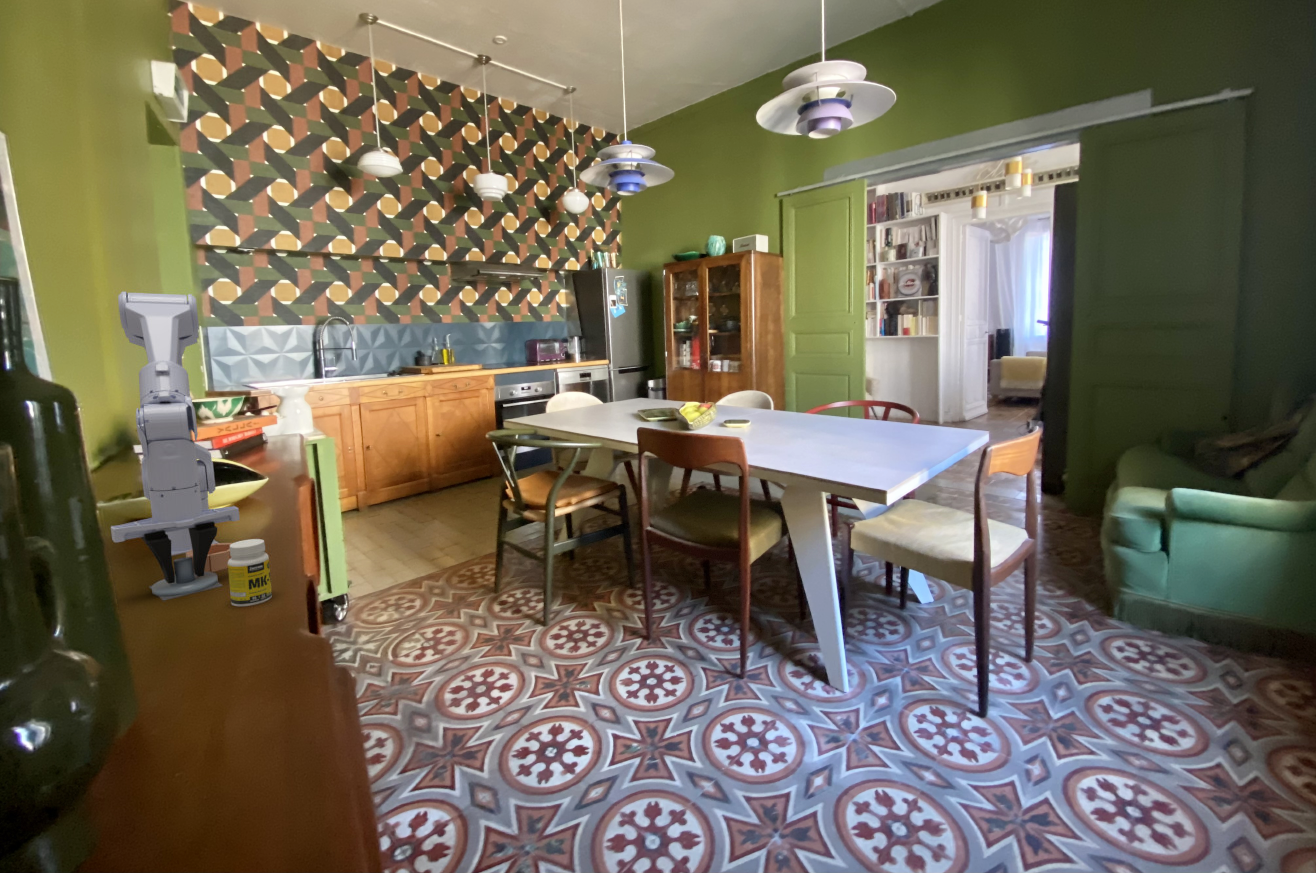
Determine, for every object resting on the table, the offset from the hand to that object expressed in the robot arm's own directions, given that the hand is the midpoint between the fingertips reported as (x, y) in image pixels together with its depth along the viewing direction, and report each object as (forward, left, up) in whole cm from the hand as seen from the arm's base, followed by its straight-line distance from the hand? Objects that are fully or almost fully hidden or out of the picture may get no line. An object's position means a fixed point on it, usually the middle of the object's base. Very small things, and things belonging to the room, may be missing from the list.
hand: (185, 578), depth 90 cm
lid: (0, 0, -1) cm, 1 cm away
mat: (0, 0, -2) cm, 2 cm away
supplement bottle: (+13, +4, -2) cm, 14 cm away
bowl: (-8, +6, -2) cm, 9 cm away
